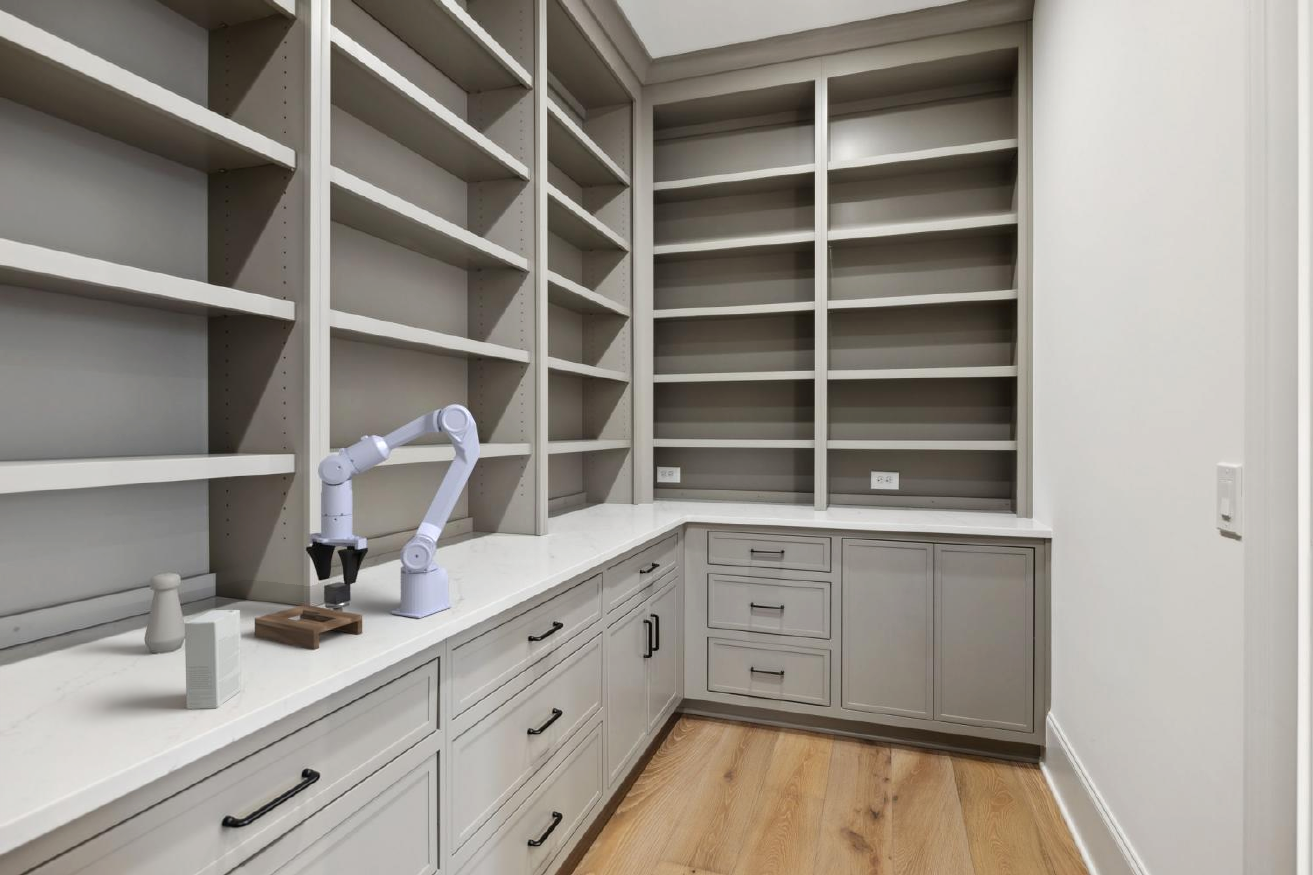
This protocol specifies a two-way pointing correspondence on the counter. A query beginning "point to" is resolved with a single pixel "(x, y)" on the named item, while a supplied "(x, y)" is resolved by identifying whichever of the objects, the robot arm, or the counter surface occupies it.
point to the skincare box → (212, 658)
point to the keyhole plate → (305, 625)
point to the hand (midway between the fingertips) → (336, 581)
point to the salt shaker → (165, 615)
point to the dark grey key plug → (336, 595)
